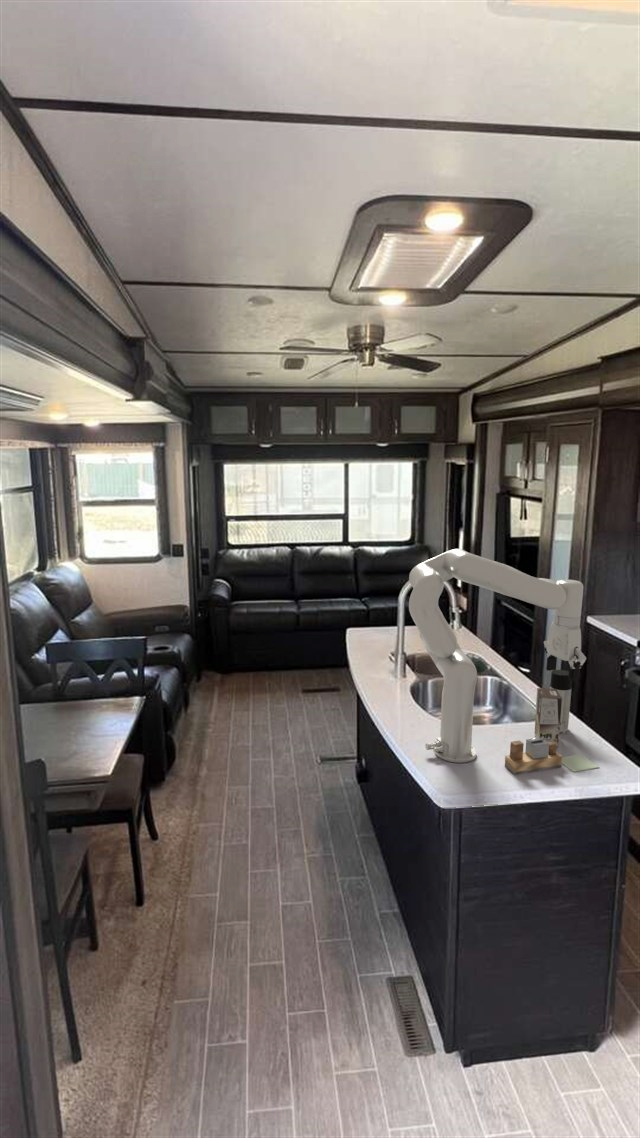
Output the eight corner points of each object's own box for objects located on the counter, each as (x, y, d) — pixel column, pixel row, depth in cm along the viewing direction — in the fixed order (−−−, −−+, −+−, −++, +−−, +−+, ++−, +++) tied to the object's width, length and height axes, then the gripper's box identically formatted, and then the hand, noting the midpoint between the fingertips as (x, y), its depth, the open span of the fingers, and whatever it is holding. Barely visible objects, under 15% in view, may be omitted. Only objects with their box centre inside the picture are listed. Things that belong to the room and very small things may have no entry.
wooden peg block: (514, 774, 175) (516, 747, 174) (504, 766, 180) (506, 739, 178) (561, 767, 180) (563, 740, 178) (550, 759, 184) (552, 733, 183)
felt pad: (573, 772, 177) (573, 771, 177) (555, 759, 184) (555, 758, 184) (599, 767, 179) (599, 766, 179) (580, 755, 187) (580, 754, 187)
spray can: (544, 724, 209) (548, 669, 205) (564, 724, 208) (568, 669, 205) (550, 733, 202) (554, 675, 199) (571, 733, 202) (575, 676, 198)
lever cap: (533, 759, 177) (534, 742, 176) (525, 753, 180) (526, 736, 180) (548, 757, 178) (549, 739, 177) (539, 751, 182) (540, 734, 181)
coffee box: (559, 747, 192) (562, 699, 189) (537, 745, 193) (541, 697, 190) (554, 734, 201) (557, 688, 198) (533, 733, 202) (536, 687, 199)
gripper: (537, 614, 189) (533, 667, 192) (576, 629, 173) (571, 686, 176) (557, 613, 192) (552, 665, 194) (598, 627, 175) (592, 683, 178)
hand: (561, 675), depth 185 cm, fingers open, 9 cm apart
